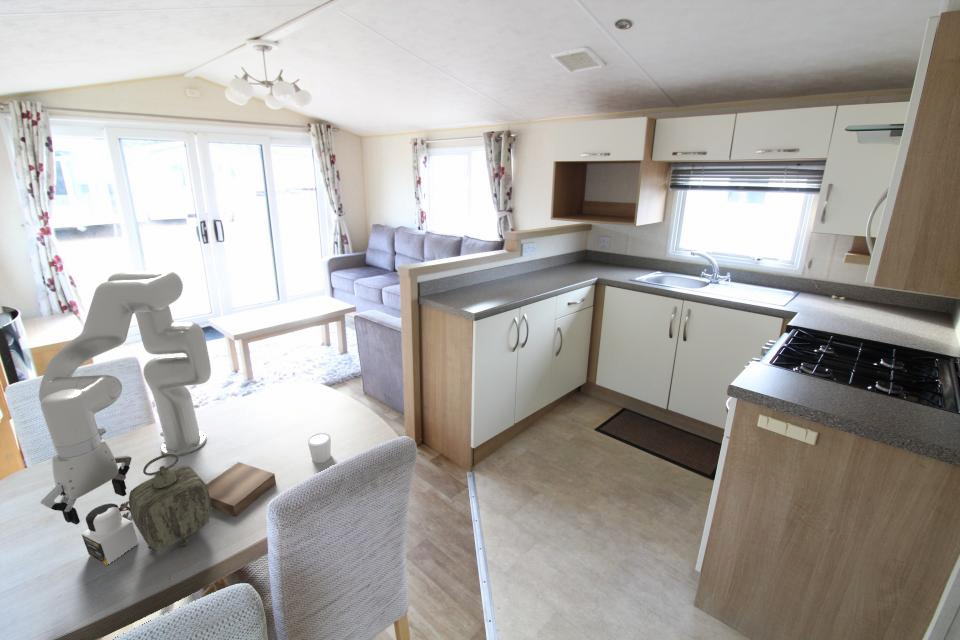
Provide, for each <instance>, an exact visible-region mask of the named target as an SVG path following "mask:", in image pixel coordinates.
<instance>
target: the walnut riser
mask: <svg viewBox="0 0 960 640" xmlns="http://www.w3.org/2000/svg"><path fill="white" fill-rule="evenodd" d="M275 475H276V474H275V473H273V472H270V471H267V470H264V469H261V468H258V467H255V466H253V465H249V464H246V463H243V462H239V461H238V462H236V463H235V464H233V465H231V467H229V468H228V469H227V470H225V471H223V472H222V473H220V474H219V475H218V476H216V477H214V478H213V479H212V480H211V481H209V482H208V483H205V485H206V487H207V489H208V492H209V495H210V501H211V509H212V508H213V509H214V510H218V511H220V512H223V513H226V514H229V515H231V516H233V517H238V515H240V514H241V513H242V512H243V511H245V510H246V509H247V508H249V506H251V505H252V504H253V503H254V502H255V501H256V500H258V499H259V498H260V497H262V496H263V495H264V494H265V493H266V492H267V491H269V490H270V489H272V488H273V487H274V486H275V485H276V484H277V481H276V476H275Z"/></svg>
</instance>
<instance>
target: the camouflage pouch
mask: <svg viewBox="0 0 960 640" xmlns="http://www.w3.org/2000/svg"><path fill="white" fill-rule="evenodd" d="M178 456H179V455H178ZM178 456H177V455H175V454H162V455H160V456H157V457H155V458H152V460H150V461H148V462H147V463H146V464H145V466H144V467H143V470H142V471H143V474H144V475H145V476H154V477H152V478H150V479H147V480H146V481H144V482H141V483H140V484H138V485H136V486H134V488H133V489H131V490H130V492H129V496H128V501H129V504H128V507H129V508H130V511H129V512H130V516H131V518H132V520H133V521H132V522H133V523H134V525H135V527H136V528H137V530H138V532H139V533H140V535H141V536H142V538H143V539H144V541H145V543H146V544H147V546H148V549H149V550H155V549H161V548H165V547H168V546H170V545H172V544H174V543H176V542H177V541H180V540H181V541H180V546H181V547H187V545H188V544H189V540H188V539H187V538H186V537H188V536H190V535H191V534H193V533H195V532H196V531H198V530H200V529H202V528H203V527H204V526H206V524H208V523H209V521H210V518H211V514H212V507H211V501H210V495H209V492H208V489H207V487H206V483H205V482H204V480H203V479H202V478H201V477H200V476H199V474H197V472H195V470H194V469H193V468H192V467H191V466H190V465H186V466H185V465H184V466H179V467H175V468H173V467H174V466H176V464H177V463H178V461H179V457H178ZM168 457H173V458H175V461H174V462H173V463H171V464H170V465H168V466H167V467H165V466H164V465H162V466H161V465H160V467H159V468H158V469H159V470H158V471H154V472H147V471H146V470H147V468H149V466H150V465H151V464H153V463H155V462H157V461H159V460H161V459H164V458H168ZM172 468H173V469H172Z"/></svg>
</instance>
